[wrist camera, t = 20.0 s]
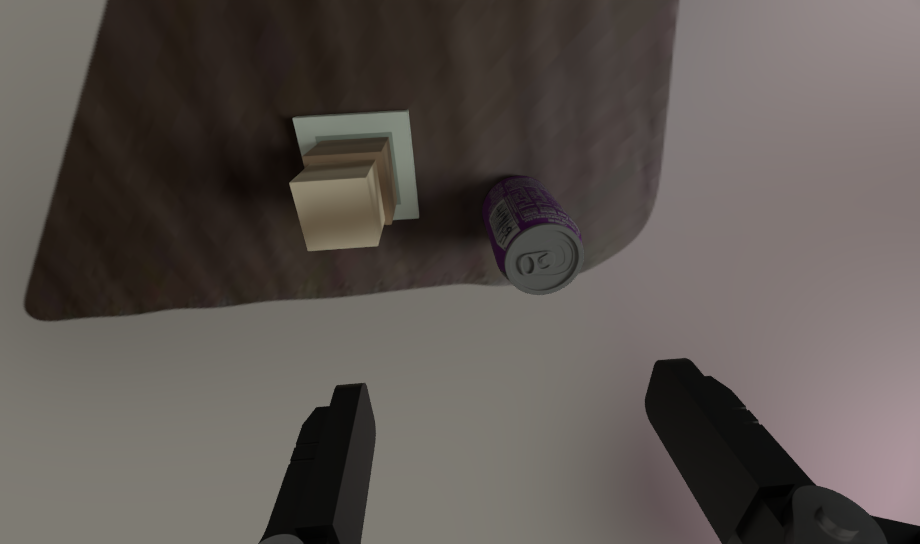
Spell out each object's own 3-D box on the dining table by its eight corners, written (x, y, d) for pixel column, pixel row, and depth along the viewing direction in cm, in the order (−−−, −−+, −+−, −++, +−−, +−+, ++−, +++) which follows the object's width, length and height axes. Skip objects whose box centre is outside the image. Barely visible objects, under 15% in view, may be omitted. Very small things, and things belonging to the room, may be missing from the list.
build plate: (296, 116, 34) (292, 118, 33) (408, 109, 35) (407, 111, 34) (321, 220, 39) (318, 225, 38) (419, 213, 40) (418, 218, 39)
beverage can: (489, 245, 42) (508, 308, 32) (474, 184, 39) (490, 232, 28) (553, 229, 42) (593, 287, 31) (544, 165, 38) (586, 207, 28)
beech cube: (310, 163, 29) (289, 182, 25) (375, 159, 30) (366, 177, 25) (324, 224, 32) (308, 251, 28) (385, 220, 32) (377, 245, 28)
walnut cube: (321, 140, 34) (301, 156, 29) (388, 136, 35) (381, 151, 29) (335, 204, 37) (319, 229, 32) (397, 200, 38) (391, 224, 32)
